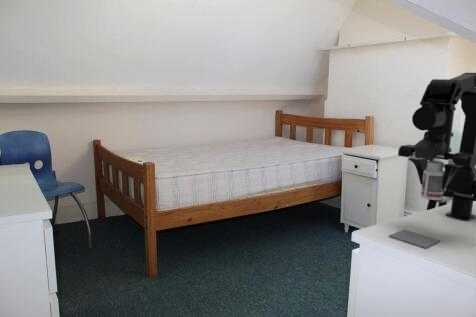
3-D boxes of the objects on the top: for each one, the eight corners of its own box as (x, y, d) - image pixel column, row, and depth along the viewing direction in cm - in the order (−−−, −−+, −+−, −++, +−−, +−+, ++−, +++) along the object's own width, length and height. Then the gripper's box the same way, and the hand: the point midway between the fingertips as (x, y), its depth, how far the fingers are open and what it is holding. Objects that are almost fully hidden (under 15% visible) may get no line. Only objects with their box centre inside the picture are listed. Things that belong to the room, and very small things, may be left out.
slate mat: (404, 230, 114) (404, 229, 114) (440, 241, 107) (440, 240, 106) (388, 236, 109) (388, 235, 109) (425, 249, 101) (426, 247, 101)
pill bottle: (446, 199, 110) (451, 162, 108) (435, 201, 107) (439, 164, 105) (428, 194, 114) (432, 159, 112) (416, 196, 111) (420, 161, 110)
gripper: (390, 126, 109) (384, 183, 112) (464, 134, 95) (456, 199, 98) (411, 124, 116) (405, 178, 119) (483, 131, 102) (475, 192, 105)
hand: (432, 186), depth 110 cm, fingers closed on pill bottle, 5 cm apart
